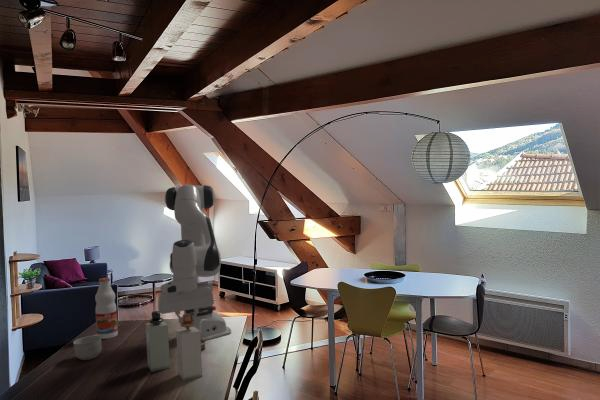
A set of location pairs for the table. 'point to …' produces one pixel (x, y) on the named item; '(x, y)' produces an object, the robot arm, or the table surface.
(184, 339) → the block
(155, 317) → the black plunger
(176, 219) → the robot arm
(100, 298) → the fruit juice
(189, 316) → the terracotta plunger
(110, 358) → the table surface
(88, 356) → the teacup
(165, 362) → the block
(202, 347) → the architectural model
